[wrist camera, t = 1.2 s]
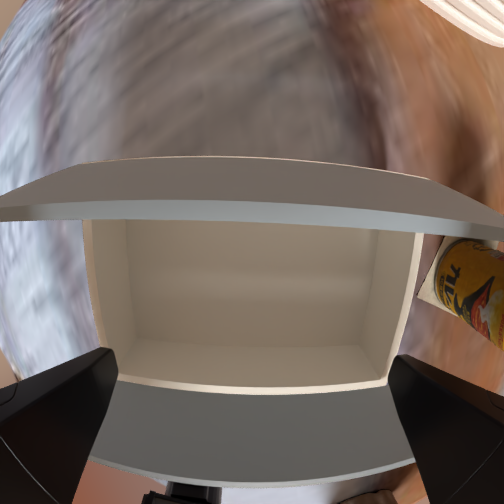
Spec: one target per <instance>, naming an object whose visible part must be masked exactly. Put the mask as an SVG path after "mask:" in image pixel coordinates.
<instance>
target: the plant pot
mask: <svg viewBox="0 0 504 504" xmlns="http://www.w3.org/2000/svg"><path fill="white" fill-rule="evenodd" d="M340 504H398V503H397V501H396V500H395V498H394V496H393V494H392V492H391V491H389V490H379V491H378V492H377V493H366V494H363V495H360V496H357V497H353V498H351V499H348V500H346V501H344V502H341V503H340Z"/></svg>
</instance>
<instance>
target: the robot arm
mask: <svg viewBox="0 0 504 504" xmlns="http://www.w3.org/2000/svg"><path fill="white" fill-rule="evenodd" d="M118 373H119V371H118V366H117V362H116V357H115V353H114V351H113V350H112V349H111V348H106V347H99V348H97V349H95V350H93V351H90V352H88V353H86V354H83V355H81V356H79V357H76V358H74V359H72V360H69V361H67V362H65V363H62V364H60V365H58V366H55V367H53V368H51V369H48V370H46V371H43V372H41V373H39V374H36V375H34V376H31V377H29V378H27V379H24V380H22V381H19V382H18V383H14V384H12V385H9V386H7V387H4V388H1V389H0V504H72V501H73V498H74V495H75V492H76V490H77V487H78V484H79V481H80V478H81V475H82V473H83V470H84V467H85V465H86V462H87V460H88V457H89V455H90V452H91V450H92V447H93V445H94V442H95V440H96V437H97V435H98V432H99V430H100V428H101V425H102V423H103V420H104V418H105V416H106V413H107V410H108V407H109V404H110V400H111V397H112V394H113V391H114V387H115V384H116V381H117V378H118ZM388 384H389V387H390V391H391V394H392V397H393V401H394V404H395V408H396V411H397V414H398V417H399V420H400V423H401V425H402V427H403V430H404V432H405V435H406V437H407V440H408V443H409V445H410V448H411V450H412V453H413V456H414V458H415V461H416V464H417V467H418V469H419V472H420V475H421V478H422V481H423V484H424V487H425V490H426V493H427V496H428V499H429V502H430V504H504V397H503V396H501V395H498V394H496V393H493V392H491V391H488V390H485V389H484V388H481V387H479V386H477V385H474V384H472V383H470V382H467V381H465V380H463V379H460V378H458V377H456V376H454V375H451V374H449V373H447V372H445V371H442V370H440V369H438V368H436V367H433V366H431V365H429V364H427V363H425V362H422V361H420V360H418V359H416V358H414V357H411V356H409V355H407V354H403V355H397V356H395V357H394V359H393V362H392V365H391V368H390V371H389V373H388ZM221 496H222V487H213V486H202V485H193V484H186V483H179V482H173V481H168V483H167V487H166V492H165V495H163V494H159V493H156V492H154V491H150V493H149V494H144V496H143V500H142V503H141V504H221Z"/></svg>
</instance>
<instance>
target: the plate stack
mask: <svg viewBox="0 0 504 504" xmlns="http://www.w3.org/2000/svg"><path fill="white" fill-rule="evenodd" d="M420 1H421V2H423V3H424V4H425V5H427V6H428V7H429V8H431V9H432V10H434V11H435V12H437V13H438V14H439V15H441V16H442V17H444V18H445V19H447V20H448V21H450V22H451V23H453V24H454V25H456V26H457V27H459V28H460V29H462V30H463V31H465V32H467V33H468V34H470V35H472V36H473V37H475V38H477V39H479V40H481V41H483V42H485V43H488V44H490V45H493V46H497V47H504V0H420Z"/></svg>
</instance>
